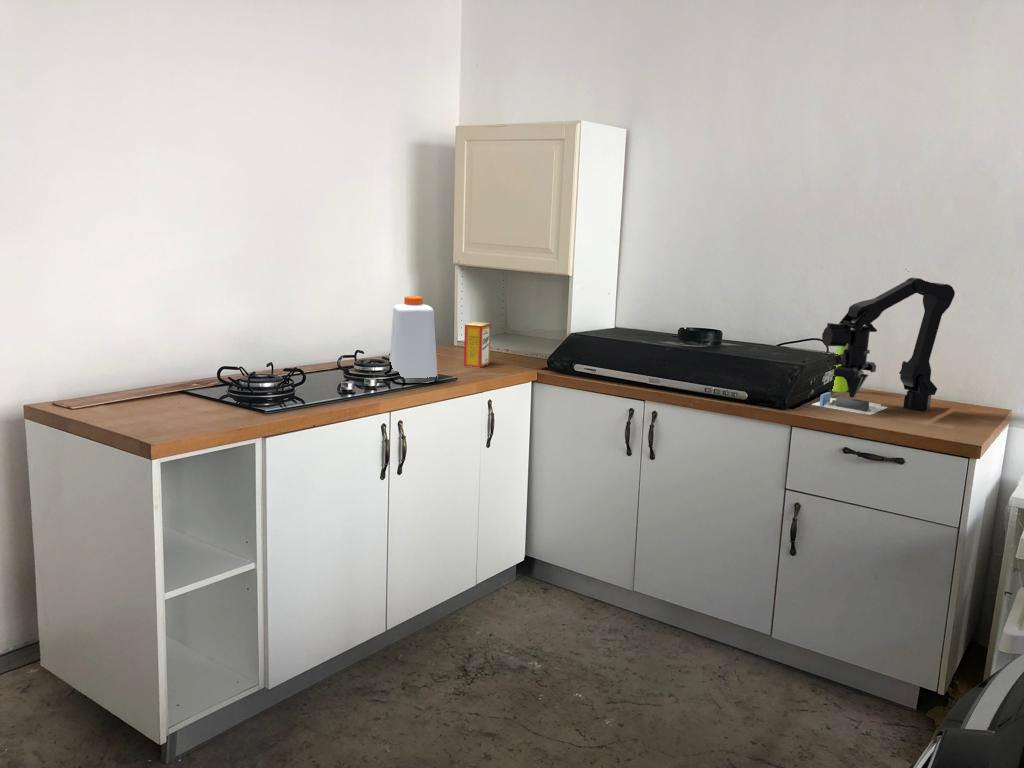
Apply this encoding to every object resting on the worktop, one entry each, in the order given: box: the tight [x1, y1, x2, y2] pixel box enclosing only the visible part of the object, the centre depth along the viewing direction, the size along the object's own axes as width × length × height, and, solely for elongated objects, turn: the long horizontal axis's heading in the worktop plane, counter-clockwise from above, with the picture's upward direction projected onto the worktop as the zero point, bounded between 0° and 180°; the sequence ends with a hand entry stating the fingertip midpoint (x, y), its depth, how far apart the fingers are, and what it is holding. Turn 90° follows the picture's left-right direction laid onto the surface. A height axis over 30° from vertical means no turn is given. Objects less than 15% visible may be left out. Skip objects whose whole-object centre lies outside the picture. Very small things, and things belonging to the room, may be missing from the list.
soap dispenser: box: [831, 344, 848, 393], centre depth 287 cm, size 6×7×20 cm
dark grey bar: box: [835, 396, 870, 411], centre depth 260 cm, size 9×3×3 cm
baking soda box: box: [463, 321, 492, 368], centre depth 318 cm, size 10×6×16 cm
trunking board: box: [811, 391, 888, 416], centre depth 264 cm, size 18×15×4 cm
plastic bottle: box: [389, 295, 438, 378], centre depth 286 cm, size 15×15×28 cm
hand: (852, 397), depth 259 cm, fingers closed
